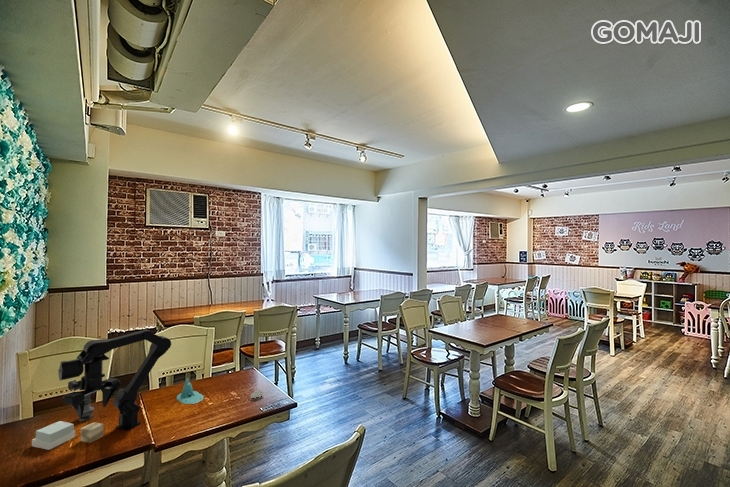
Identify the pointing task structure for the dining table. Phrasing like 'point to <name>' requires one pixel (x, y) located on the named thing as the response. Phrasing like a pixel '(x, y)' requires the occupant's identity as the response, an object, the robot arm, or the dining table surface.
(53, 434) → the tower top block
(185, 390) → the teal witch hat
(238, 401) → the dining table surface
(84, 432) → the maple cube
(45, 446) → the tower base block
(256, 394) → the car cutout
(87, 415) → the grey stone pagoda
